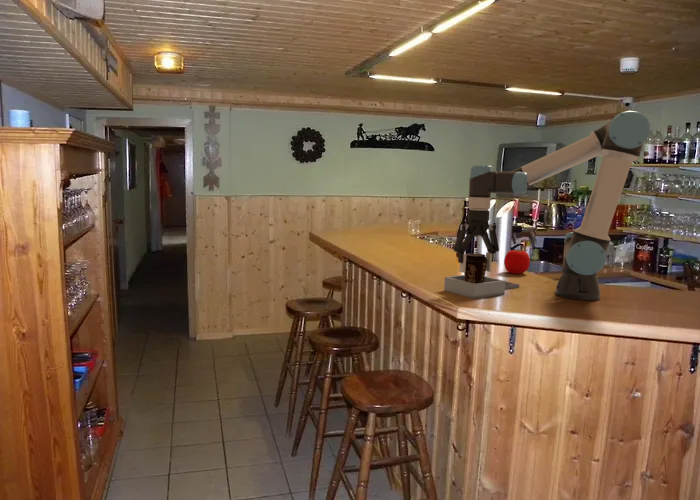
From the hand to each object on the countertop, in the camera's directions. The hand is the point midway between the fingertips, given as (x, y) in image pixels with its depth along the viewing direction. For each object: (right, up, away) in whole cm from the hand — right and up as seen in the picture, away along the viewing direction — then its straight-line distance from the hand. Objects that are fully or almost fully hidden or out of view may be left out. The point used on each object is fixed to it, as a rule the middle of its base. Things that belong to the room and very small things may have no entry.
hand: (475, 271), depth 195 cm
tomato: (+28, -3, +44) cm, 52 cm away
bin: (0, -8, +1) cm, 8 cm away
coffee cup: (0, -7, +2) cm, 7 cm away
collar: (+9, -6, +15) cm, 18 cm away
